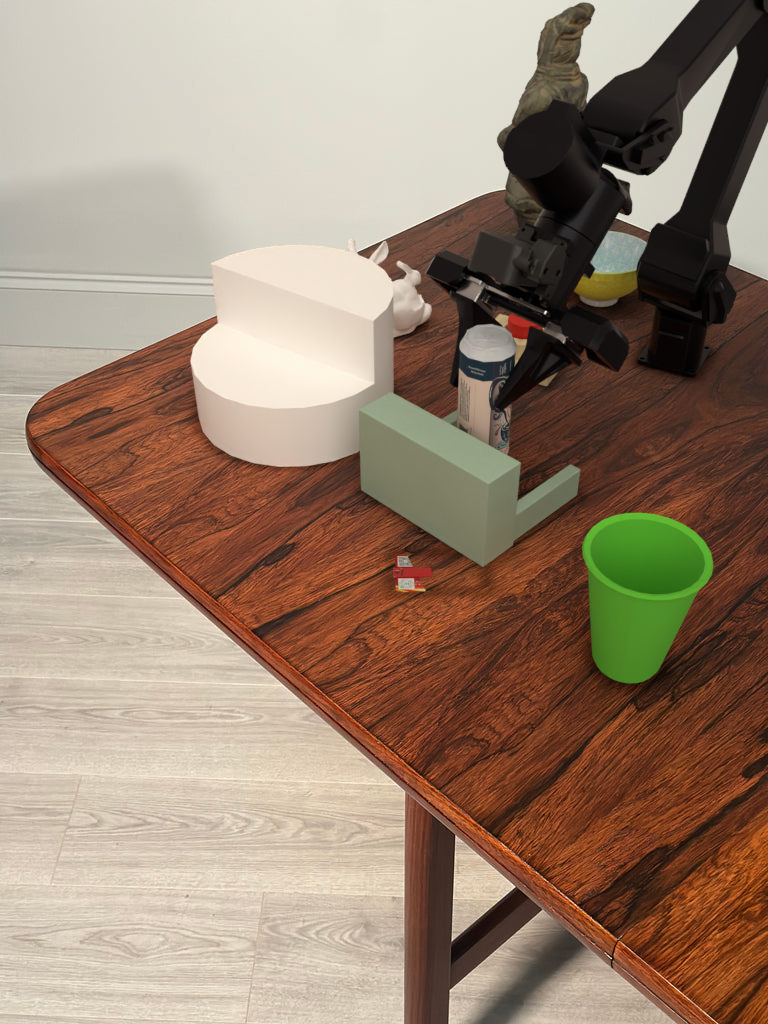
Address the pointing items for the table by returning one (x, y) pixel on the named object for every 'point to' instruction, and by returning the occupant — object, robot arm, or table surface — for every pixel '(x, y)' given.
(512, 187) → the statue
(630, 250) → the bowl
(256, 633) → the table surface
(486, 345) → the beer can
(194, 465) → the table surface
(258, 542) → the table surface
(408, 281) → the rabbit figurine
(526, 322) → the button
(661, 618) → the cup
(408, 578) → the toy pistol
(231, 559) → the table surface
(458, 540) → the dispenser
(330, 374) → the white stepped cylinder
